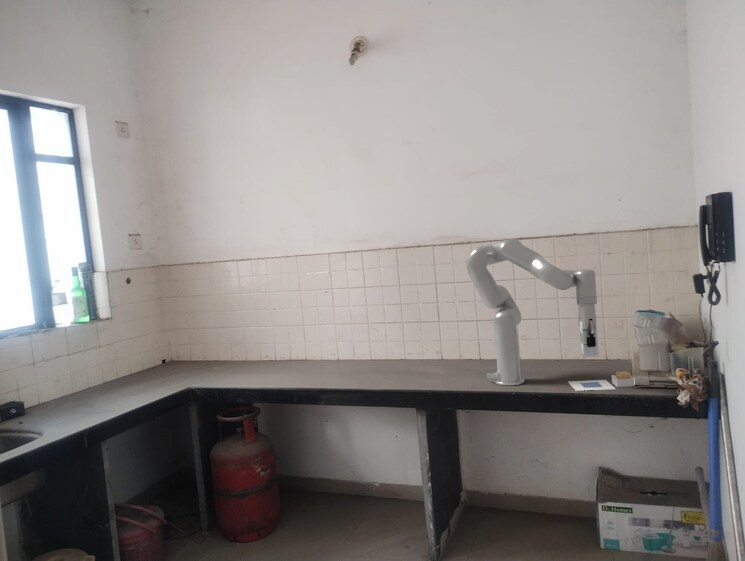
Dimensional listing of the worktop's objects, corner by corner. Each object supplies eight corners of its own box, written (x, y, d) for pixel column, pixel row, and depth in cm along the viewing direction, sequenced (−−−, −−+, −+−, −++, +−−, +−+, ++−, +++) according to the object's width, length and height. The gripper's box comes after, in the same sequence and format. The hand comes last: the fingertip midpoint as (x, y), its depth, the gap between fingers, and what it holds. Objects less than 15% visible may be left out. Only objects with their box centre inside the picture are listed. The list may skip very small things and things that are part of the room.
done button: (619, 380, 221) (619, 374, 221) (616, 377, 225) (616, 371, 225) (630, 380, 220) (630, 373, 220) (627, 377, 224) (627, 371, 224)
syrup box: (599, 356, 220) (597, 320, 219) (583, 357, 221) (581, 321, 220) (596, 353, 226) (594, 318, 225) (581, 354, 227) (578, 319, 226)
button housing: (617, 387, 220) (616, 379, 219) (612, 382, 227) (611, 375, 226) (635, 386, 219) (635, 378, 219) (630, 381, 226) (629, 374, 225)
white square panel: (575, 391, 218) (575, 390, 218) (568, 382, 232) (568, 381, 232) (615, 389, 216) (615, 388, 216) (605, 380, 230) (605, 379, 230)
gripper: (572, 298, 231) (574, 341, 232) (582, 303, 214) (584, 349, 215) (590, 297, 230) (593, 340, 231) (602, 302, 213) (605, 348, 214)
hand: (589, 344), depth 223 cm, fingers closed on syrup box, 5 cm apart
